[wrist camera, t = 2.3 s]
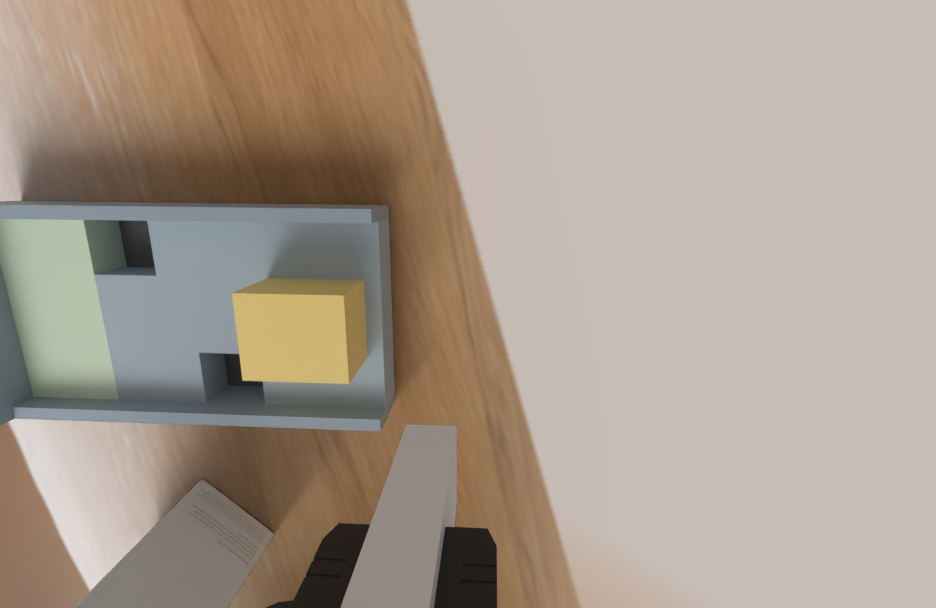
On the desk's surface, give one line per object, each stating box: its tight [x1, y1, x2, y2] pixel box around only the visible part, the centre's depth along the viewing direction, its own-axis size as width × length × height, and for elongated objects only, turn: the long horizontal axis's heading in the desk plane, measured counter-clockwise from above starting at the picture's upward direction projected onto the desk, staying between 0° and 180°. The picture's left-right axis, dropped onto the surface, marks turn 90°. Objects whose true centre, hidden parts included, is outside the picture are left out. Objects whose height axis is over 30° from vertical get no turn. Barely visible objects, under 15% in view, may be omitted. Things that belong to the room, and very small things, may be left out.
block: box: [232, 278, 368, 384], centre depth 27 cm, size 5×6×4 cm
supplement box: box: [74, 480, 274, 608], centre depth 31 cm, size 7×7×13 cm
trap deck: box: [0, 201, 395, 431], centre depth 30 cm, size 14×25×6 cm, turn 90°
